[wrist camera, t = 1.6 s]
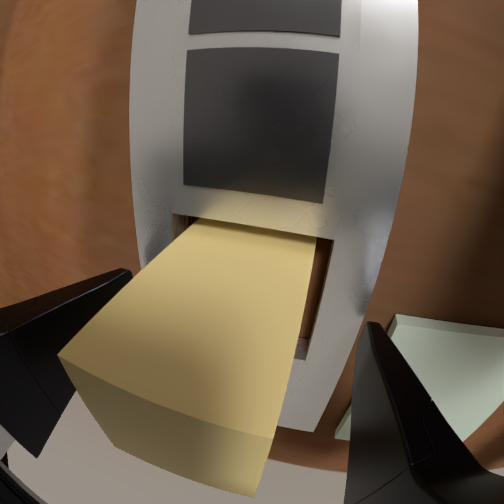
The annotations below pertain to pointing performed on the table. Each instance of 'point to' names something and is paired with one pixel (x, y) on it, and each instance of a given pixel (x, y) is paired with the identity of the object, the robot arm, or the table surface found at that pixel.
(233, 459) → the ochre block
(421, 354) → the sage mat
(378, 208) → the rail plate
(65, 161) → the table surface
